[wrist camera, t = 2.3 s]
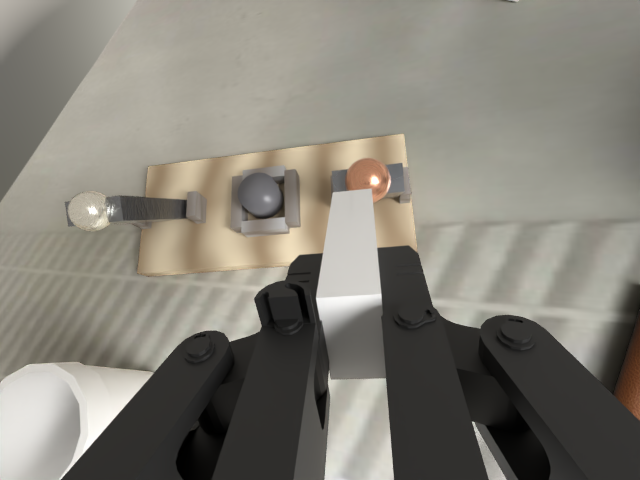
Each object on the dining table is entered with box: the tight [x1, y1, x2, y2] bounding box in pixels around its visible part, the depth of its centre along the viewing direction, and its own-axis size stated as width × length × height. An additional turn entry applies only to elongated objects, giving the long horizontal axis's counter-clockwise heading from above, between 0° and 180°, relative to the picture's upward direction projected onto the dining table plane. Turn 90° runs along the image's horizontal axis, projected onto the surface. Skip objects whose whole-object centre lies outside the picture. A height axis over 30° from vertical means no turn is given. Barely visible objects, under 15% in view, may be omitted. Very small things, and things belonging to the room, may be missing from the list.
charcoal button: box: [238, 172, 284, 219], centre depth 37 cm, size 4×4×3 cm
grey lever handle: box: [65, 191, 189, 231], centre depth 34 cm, size 5×3×14 cm, turn 93°
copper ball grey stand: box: [332, 158, 405, 203], centre depth 31 cm, size 5×3×14 cm, turn 92°
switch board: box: [131, 134, 417, 277], centre depth 39 cm, size 30×13×4 cm, turn 92°
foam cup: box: [0, 362, 154, 480], centre depth 32 cm, size 10×9×13 cm
